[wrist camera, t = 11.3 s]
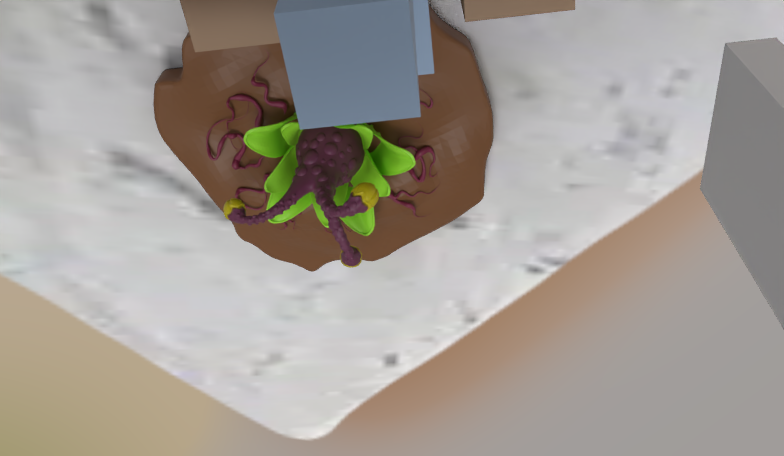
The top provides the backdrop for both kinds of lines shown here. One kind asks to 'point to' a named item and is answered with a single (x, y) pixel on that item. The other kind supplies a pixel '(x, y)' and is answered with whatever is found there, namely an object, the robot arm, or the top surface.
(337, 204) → the plant
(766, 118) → the robot arm
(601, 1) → the top surface
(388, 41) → the light blue forked piece
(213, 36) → the stand
